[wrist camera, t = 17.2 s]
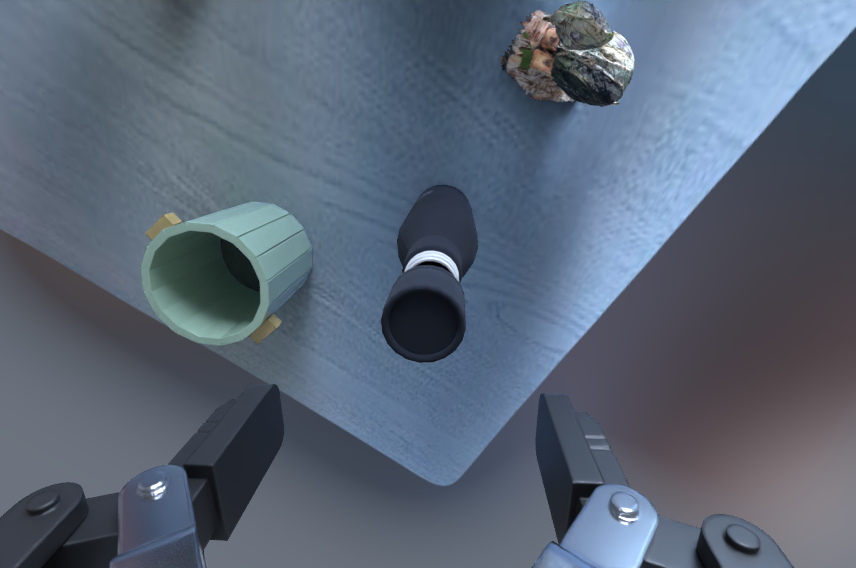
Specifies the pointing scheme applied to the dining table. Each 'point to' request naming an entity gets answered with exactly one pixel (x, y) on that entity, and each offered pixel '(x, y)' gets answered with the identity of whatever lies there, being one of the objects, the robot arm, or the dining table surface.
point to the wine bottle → (431, 277)
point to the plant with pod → (570, 57)
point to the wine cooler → (224, 272)
